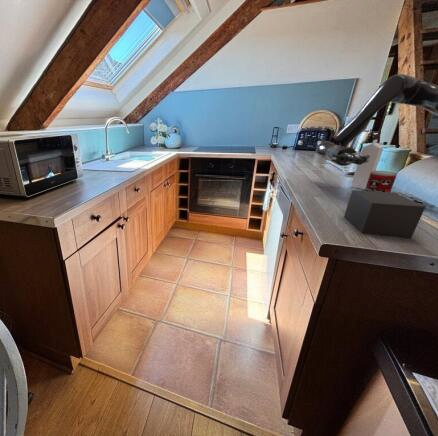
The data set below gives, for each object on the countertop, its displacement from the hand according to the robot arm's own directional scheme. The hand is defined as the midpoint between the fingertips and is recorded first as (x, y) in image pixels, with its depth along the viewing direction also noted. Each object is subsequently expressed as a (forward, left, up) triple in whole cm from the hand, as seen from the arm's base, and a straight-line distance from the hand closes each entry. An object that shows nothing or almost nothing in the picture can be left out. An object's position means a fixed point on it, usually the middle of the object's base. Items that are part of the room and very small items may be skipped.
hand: (360, 161), depth 89 cm
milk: (-16, -31, -17) cm, 39 cm away
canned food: (-14, -12, -17) cm, 25 cm away
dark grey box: (0, +22, -17) cm, 28 cm away
